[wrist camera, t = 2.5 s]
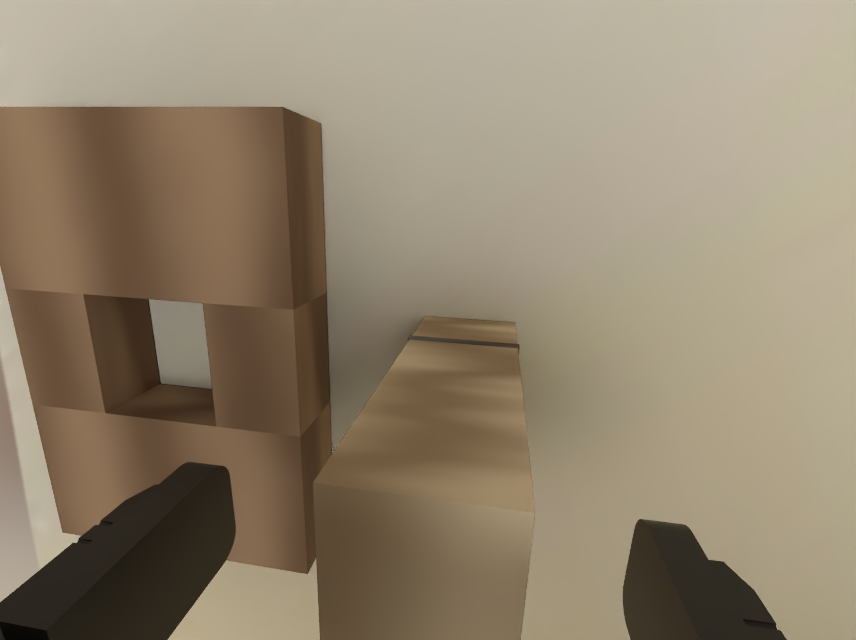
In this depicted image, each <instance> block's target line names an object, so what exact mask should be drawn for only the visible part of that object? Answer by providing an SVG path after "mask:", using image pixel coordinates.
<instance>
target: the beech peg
mask: <svg viewBox="0 0 856 640" xmlns="http://www.w3.org/2000/svg"><path fill="white" fill-rule="evenodd" d="M313 496H314V518H315V539H316V561H317V583H318V604H319V626H320V640H521V632H522V623H523V615H524V606H525V598H526V589H527V580H528V572H529V563H530V554H531V546H532V537H533V528H534V520H535V506H534V496H533V487H532V477H531V468H530V458H529V449H528V440H527V430H526V421H525V411H524V402H523V392H522V383H521V374H520V364H519V344H517V336H516V326H515V323H513V322H499V321H486V320H472V319H458V318H445V317H431V316H425V317H424V319H423V320H422V322H421V323H420V325H419V326H418V328H417V329H416V331H415V332H414V334H413V335H410V336H409V337H408V342H407V344H406V345H405V347H404V348H403V350H402V351H401V353H400V354H399V356H398V357H397V359H396V360H395V362H394V363H393V365H392V366H391V368H390V369H389V371H388V372H387V374H386V375H385V377H384V378H383V379H382V381H381V382H380V384H379V385H378V387H377V388H376V390H375V391H374V393H373V394H372V396H371V397H370V399H369V400H368V402H367V403H366V405H365V406H364V408H363V409H362V411H361V412H360V414H359V415H358V417H357V418H356V419H355V421H354V422H353V424H352V425H351V427H350V428H349V430H348V431H347V433H346V434H345V436H344V437H343V439H342V440H341V442H340V443H339V445H338V446H337V448H336V449H335V451H334V452H333V454H332V455H331V457H330V458H329V459H328V461H327V462H326V464H325V465H324V467H323V468H322V470H321V471H320V473H319V474H318V476H317V477H316V479H315V480H314V482H313Z"/></svg>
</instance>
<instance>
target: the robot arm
mask: <svg viewBox="0 0 856 640" xmlns="http://www.w3.org/2000/svg"><path fill="white" fill-rule="evenodd" d="M235 534H236V523H235V514H234V506H233V497H232V488H231V480H230V473H229V471H228V469H227V468H226V467H225V466H221V465H213V464H205V463H197V462H186V463H184V464H182V465H181V466H180V467H178V468H177V469H176V470H175V471H174V472H173V473H171V474H170V475H169V476H168V477H167V478H166V479H164V480H163V481H162V482H161V483H160V484H159V485H158V484H155V485H153V486H151V487H149V488H147V489H146V490H144V491H142V492H140V493H138V494H136V495H134V496H132V497H130V498H128V499H126V500H125V501H124V502H122V503H121V504H120V505H119V506H118V507H116V508H115V509H114V510H113V511H111V512H110V513H109V514H108V515H107V516H105V517H104V518H103V519H102V520H100V524H99V525H94V526H93V527H92V528H91V529H89V530H88V531H87V532H86V533H85V534H83V535H82V536H81V537H80V538H79V540H78V542H77V543H72V544H71V545H70V546H69V547H67V548H66V549H65V550H64V551H63V552H61V553H60V554H59V555H58V556H56V557H55V558H54V559H53V560H52V561H50V562H49V563H48V564H47V565H45V566H44V567H43V568H42V569H41V570H39V571H38V572H37V573H36V574H34V575H33V576H32V577H31V578H30V579H29V580H27V581H26V582H25V583H24V584H22V585H21V586H20V587H19V588H17V589H16V590H15V591H14V592H12V593H11V594H10V595H9V596H8V597H6V598H5V599H4V600H3V601H1V602H0V640H167V639H168V638H169V637H170V635H171V634H172V633H173V631H174V630H175V629H176V627H177V626H178V625H179V623H180V622H181V621H182V619H183V618H184V617H185V615H186V614H187V612H188V611H189V610H190V608H191V607H192V606H193V604H194V603H195V602H196V600H197V599H198V598H199V596H200V595H201V594H202V592H203V591H204V590H205V588H206V587H207V586H208V584H209V583H210V582H211V580H212V579H213V577H214V576H215V575H216V573H217V572H218V571H219V569H220V568H221V567H222V565H223V564H224V563H225V561H226V560H227V558H228V556H229V554H230V552H231V549H232V547H233V544H234V540H235ZM623 608H624V615H625V621H626V625H627V629H628V632H629V635H630V639H631V640H786V638H785V637H784V635H783V634H782V632H781V631H780V630H777V628H776V623H775V621H774V620H773V618H772V617H771V615H770V614H769V612H768V611H767V609H766V608H765V606H764V604H763V603H762V601H761V600H760V598H759V597H758V595H757V594H756V592H755V591H754V590H753V589H752V588H751V587H750V586H749V585H748V584H747V583H746V582H745V581H744V580H742V579H741V578H740V577H739V576H738V575H737V574H736V573H735V572H734V571H733V570H732V569H731V568H729V567H728V566H727V565H726V564H725V563H724V562H721V561H713V560H708V558H707V557H706V555H705V553H704V552H703V550H702V548H701V546H700V545H699V543H698V541H697V540H696V538H695V536H694V534H693V533H692V531H691V530H690V529H689V527H687V526H686V525H683V524H675V523H667V522H659V521H651V520H643V519H640V520H638V521H637V523H636V526H635V529H634V534H633V539H632V544H631V549H630V555H629V560H628V565H627V570H626V575H625V580H624V586H623Z"/></svg>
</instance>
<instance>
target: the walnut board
mask: <svg viewBox="0 0 856 640" xmlns="http://www.w3.org/2000/svg"><path fill="white" fill-rule="evenodd" d="M0 266H1V271H2V275H3V279H4V283H5V288H6V292H7V296H8V301H9V305H10V309H11V313H12V318H13V322H14V326H15V330H16V335H17V339H18V343H19V348H20V352H21V356H22V360H23V365H24V369H25V373H26V378H27V382H28V386H29V390H30V395H31V399H32V403H33V408H34V412H35V416H36V420H37V425H38V429H39V433H40V438H41V442H42V446H43V450H44V455H45V459H46V463H47V468H48V472H49V476H50V480H51V485H52V489H53V493H54V498H55V502H56V506H57V510H58V515H59V519H60V523H61V528H62V532H63V533H69V534H75V535H81V536H82V535H83V534H85V533H86V532H87V531H88V530H89V529H91V528H92V527H93V526H94V525H99V524H100V520H102V519H103V518H104V517H105V516H107V515H108V514H109V513H110V512H111V511H113V510H114V509H115V508H116V507H118V506H119V505H120V504H121V503H122V502H124V501H125V500H126V499H128V498H130V497H132V496H134V495H136V494H138V493H140V492H142V491H144V490H146V489H147V488H149V487H151V486H153V485H155V484H158V485H159V484H160V483H161V482H162V481H163V480H164V479H166V478H167V477H168V476H169V475H170V474H171V473H173V472H174V471H175V470H176V469H177V468H178V467H180V466H181V465H182V464H184V463H186V462H197V463H205V464H213V465H221V466H225V467H226V468H227V469H228V471H229V473H230V480H231V488H232V497H233V506H234V514H235V523H236V534H235V540H234V544H233V547H232V549H231V552H230V554H229V556H228V558H227V560H228V561H234V562H240V563H246V564H252V565H257V566H263V567H269V568H275V569H281V570H287V571H293V572H299V573H305V574H308V572H309V570H310V568H311V566H312V564H313V563H314V561H315V559H316V539H315V518H314V496H313V482H314V480H315V479H316V477H317V476H318V474H319V473H320V471H321V470H322V468H323V467H324V465H325V464H326V462H327V461H328V459H329V458H330V457H331V455H332V452H331V421H330V389H329V358H328V327H327V296H326V264H325V233H324V202H323V170H322V139H321V123H318V122H316V121H314V120H311V119H309V118H307V117H304V116H302V115H300V114H298V113H295V112H293V111H291V110H288V109H286V108H284V107H0ZM148 299H155V300H169V301H182V302H195V303H203V310H204V319H205V328H206V337H207V346H208V355H209V364H210V373H211V382H212V390H211V389H202V388H192V387H183V386H173V385H164V384H160V380H159V373H158V366H157V359H156V352H155V345H154V339H153V332H152V325H151V318H150V311H149V304H148Z"/></svg>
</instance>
